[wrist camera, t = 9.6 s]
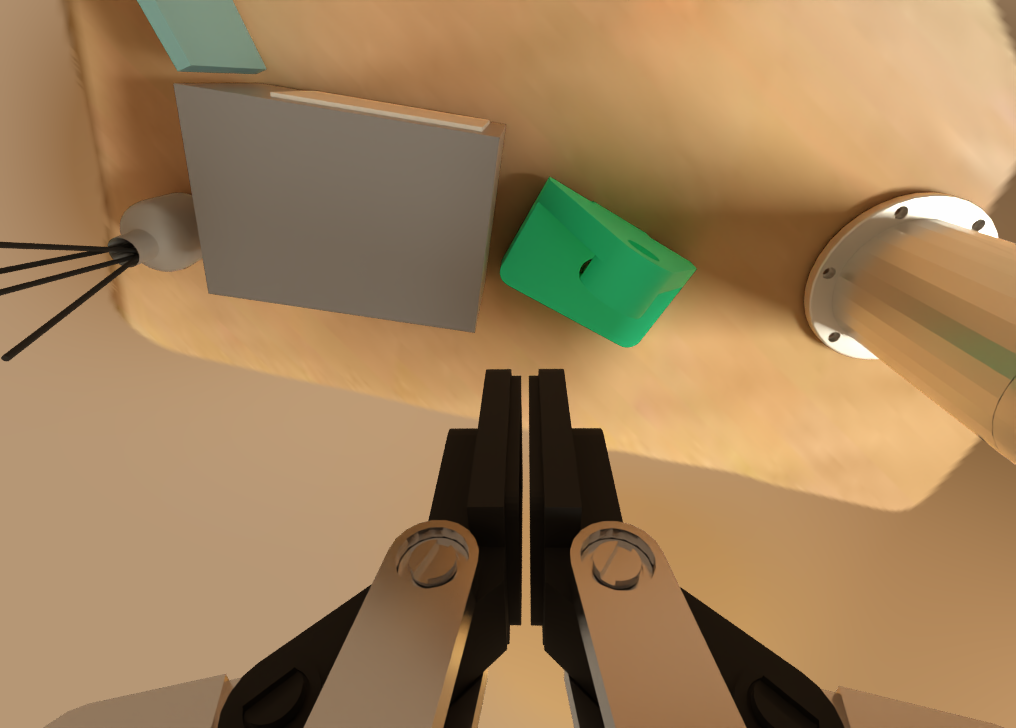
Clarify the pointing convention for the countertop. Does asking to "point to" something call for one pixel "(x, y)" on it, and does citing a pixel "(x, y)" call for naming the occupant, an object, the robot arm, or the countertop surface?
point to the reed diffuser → (124, 250)
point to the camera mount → (593, 266)
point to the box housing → (341, 201)
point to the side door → (203, 35)
